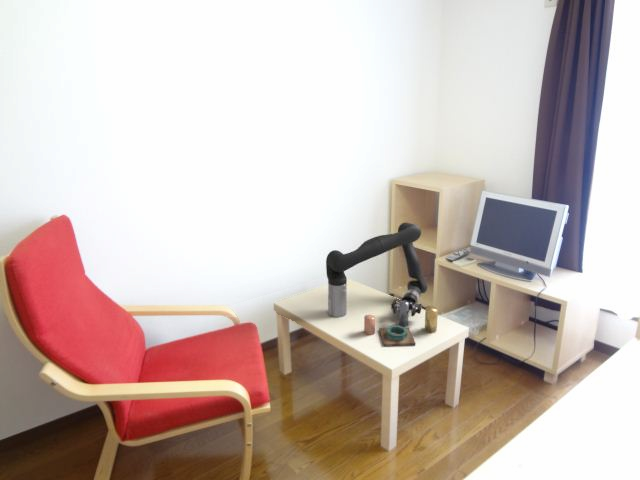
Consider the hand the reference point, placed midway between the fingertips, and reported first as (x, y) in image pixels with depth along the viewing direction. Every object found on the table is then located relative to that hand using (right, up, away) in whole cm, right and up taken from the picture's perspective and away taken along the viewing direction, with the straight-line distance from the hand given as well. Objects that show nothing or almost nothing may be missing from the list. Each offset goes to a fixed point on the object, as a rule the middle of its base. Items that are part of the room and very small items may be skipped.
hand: (403, 313), depth 214 cm
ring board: (-4, -10, -8) cm, 13 cm away
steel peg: (+1, -6, +3) cm, 7 cm away
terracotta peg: (-16, -9, -3) cm, 19 cm away
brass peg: (+13, -8, -1) cm, 15 cm away
